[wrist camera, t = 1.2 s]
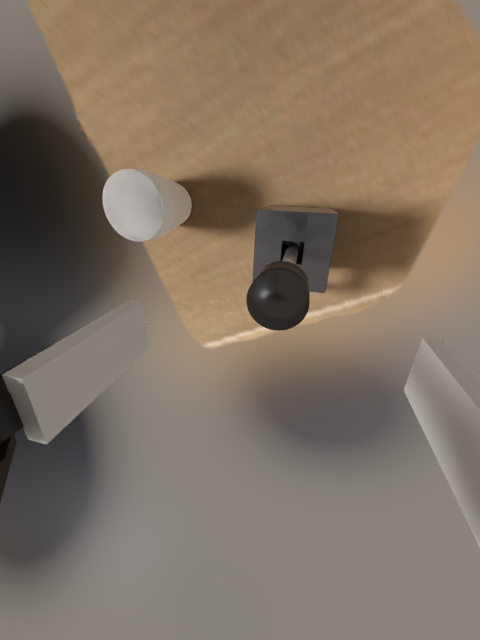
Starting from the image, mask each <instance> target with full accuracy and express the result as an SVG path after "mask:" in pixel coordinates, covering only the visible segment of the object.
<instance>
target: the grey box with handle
mask: <svg viewBox="0 0 480 640" xmlns="http://www.w3.org/2000/svg"><path fill="white" fill-rule="evenodd" d="M338 218H339V213H337V212H336V211H334V210H333V209H331V208H316V207H295V206H274V205H271V206H267V207H264V208H261V209H257V213H256V231H255V249H254V267H253V281H254V280H255V278H256V277H257V275H258V274H259V272H260V271H261V270H262V269H263V268H264V267H265V266H266V265H268V264H270V263H273V262H276V261H281V253H282V243H283V241H294V242H305V244H304V252H303V259H302V263H298V262H296V265H297V266H299V267H300V268H301V269H302V270H303V271H304V272H305V274H306V276H307V278H308V280H309V291H310V292H320V293H325V291H326V285H327V279H328V274H329V268H330V263H331V257H332V251H333V246H334V240H335V235H336V229H337V223H338Z"/></svg>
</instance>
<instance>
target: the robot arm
mask: <svg viewBox="0 0 480 640" xmlns="http://www.w3.org/2000/svg"><path fill="white" fill-rule="evenodd" d="M148 348H149V347H148V340H147V331H146V323H145V315H144V307H143V302H137V301H128V302H126V303H125V304H123V305H121V306H119V307H118V308H116V309H114V310H113V311H111V312H109V313H107V314H106V315H104V316H102V317H100V318H99V319H97V320H95V321H93V322H92V323H90V324H88V325H87V326H85V327H83V328H81V329H80V330H79V331H76V332H75V333H73V334H72V335H70V336H68V337H66V338H64V339H62V340H61V341H59V342H57V343H56V344H53V345H50V346H48V347H46V348H45V349H43V350H41V351H40V352H38V354H34V355H33V356H31V357H29V358H28V360H27V359H26V360H24V361H22V362H20V363H19V364H17V365H15V366H13V367H12V368H10V369H8V370H7V371H5V372H3V373H1V374H0V502H1V498H2V495H3V491H4V487H5V484H6V480H7V476H8V472H9V469H10V465H11V462H12V458H13V454H14V450H15V447H16V443H17V441H16V436H15V433H16V432H17V431H18V430H20V429H21V428H22V427H24V430H25V433H26V435H27V437H28V439H29V440H32V441H36V442H40V443H44V444H48V442H50V441H51V440H52V439H53V438H54V437H55V436H56V435H57V434H58V433H59V432H60V431H61V430H62V429H63V428H64V427H65V426H66V425H68V424H69V423H70V422H71V421H72V420H73V419H74V418H75V417H76V416H77V415H78V414H79V413H80V412H81V411H82V410H84V409H85V408H86V407H87V406H88V405H89V404H90V403H91V402H92V401H93V400H94V399H95V398H96V397H97V396H98V395H99V394H101V393H102V392H103V391H104V390H105V389H106V388H107V387H108V386H109V385H110V384H111V383H112V382H113V381H114V380H115V379H116V378H117V377H119V376H120V375H121V373H123V372H124V371H125V370H126V369H127V368H128V367H129V366H130V365H131V364H132V363H133V362H134V361H135V360H137V359H138V358H139V357H140V356H141V355H142V354H143V353H144V352H145V351H146V350H147V349H148ZM404 391H405V394H406V396H407V397H408V400H409V402H410V404H411V406H412V408H413V410H414V412H415V414H416V416H417V418H418V420H419V423H420V424H421V427H422V429H423V431H424V433H425V435H426V437H427V439H428V441H429V443H430V445H431V447H432V449H433V452H434V453H435V456H436V458H437V460H438V462H439V464H440V466H441V468H442V470H443V472H444V474H445V476H446V478H447V481H448V482H449V485H450V487H451V489H452V491H453V493H454V495H455V497H456V499H457V501H458V503H459V505H460V507H461V510H462V512H463V513H464V516H465V518H466V520H467V522H468V524H469V526H470V528H471V530H472V532H473V534H474V536H475V538H476V541H477V542H478V545H479V547H480V381H479V380H478V378H477V377H476V376H475V375H474V374H473V373H472V372H471V371H470V370H469V369H468V368H467V367H466V365H465V364H464V363H463V362H462V361H461V360H460V359H459V358H458V357H457V356H456V355H455V353H454V352H453V351H452V350H451V349H450V348H449V347H448V346H447V345H446V344H445V343H444V341H440V340H433V339H425V338H423V339H422V342H421V344H420V347H419V350H418V353H417V355H416V358H415V361H414V363H413V366H412V369H411V372H410V374H409V377H408V380H407V383H406V385H405V388H404Z"/></svg>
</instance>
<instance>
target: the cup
mask: <svg viewBox="0 0 480 640" xmlns="http://www.w3.org/2000/svg"><path fill="white" fill-rule="evenodd" d="M103 206H104V211H105V214H106V216H107V219H108V220H109V222H110V224H111V225H112V227H113V228H114V229H115V230H116V231H117V232H118V233H119V234H120V235H122V236H123V237H125V238H127V239H129V240H132V241H146V240H153V239H157V238H160V237H162V236H164V235H165V234H167V233H168V232H170V231H171V230H173V229H174V228H176V227H177V226H179V225H180V224H182V223H183V222H185V221H186V220H187V219H188V217H189V216H190V213H191V208H192V204H191V199H190V196H189V194H188V192H187V191H186V189H185V188H184V187H183V186H181V185H180V184H178V183H176V182H174V181H171V180H169V179H167V178H165V177H163V176H160V175H158V174H156V173H154V172H151V171H148V170H144V169H122V170H119V171H117V172H115V173H114V174H112V175H111V176H110V177H109V179H108V180H107V182H106V184H105V186H104V190H103Z"/></svg>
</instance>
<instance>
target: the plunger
mask: <svg viewBox="0 0 480 640" xmlns="http://www.w3.org/2000/svg"><path fill="white" fill-rule="evenodd" d="M304 244H305V242H294V241H283V243H282V253H281V261H276V262H273V263H270V264H268V265H266V266H265V267H264V268H263V269H262V270H261V271H260V272H259V274H258V275H257V277H256V278H255V280H254V281H253V283H252V284H251V286H250V288H249V290H248V293H247V307H248V310H249V313H250V314H251V316H252V317H253V319H254V320H255V321H256V322H257V323H259V324H260V325H261V326H263V327H265V328H268V329H271V330H286V329H290V328H292V327H294V326H296V325H298V324H299V323H300V322H301V321H302V320H303V319H304V317H305V316H306V314H307V312H308V309H309V280H308V278H307V276H306V274H305V272H304V271H303V270H302V269H301V268H300V267H299V266H297V265H296V262H298V263H302V259H303V252H304Z"/></svg>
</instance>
